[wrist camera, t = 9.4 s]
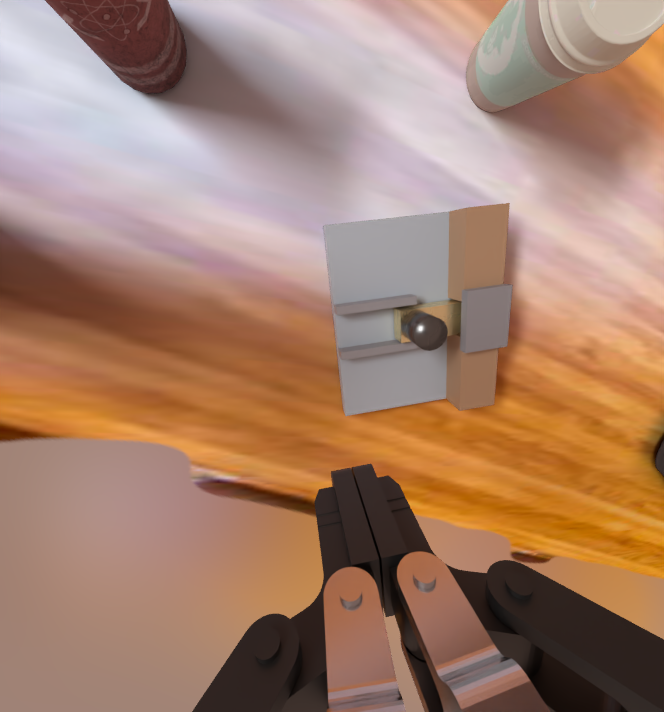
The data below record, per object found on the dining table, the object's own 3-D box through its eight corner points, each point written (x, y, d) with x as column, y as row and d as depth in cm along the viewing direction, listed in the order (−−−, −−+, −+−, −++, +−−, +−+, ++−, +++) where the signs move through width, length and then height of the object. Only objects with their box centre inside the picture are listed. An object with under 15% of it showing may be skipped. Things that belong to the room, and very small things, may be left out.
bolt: (394, 337, 33) (415, 354, 28) (393, 307, 32) (414, 318, 27) (483, 324, 34) (519, 337, 29) (484, 294, 33) (522, 303, 28)
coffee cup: (500, -17, 26) (667, -221, 15) (556, 69, 29) (735, -47, 17) (431, 78, 27) (536, -42, 16) (491, 151, 30) (617, 93, 19)
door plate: (343, 409, 37) (353, 435, 31) (323, 226, 30) (331, 221, 25) (472, 387, 38) (501, 408, 33) (481, 209, 32) (519, 201, 26)
